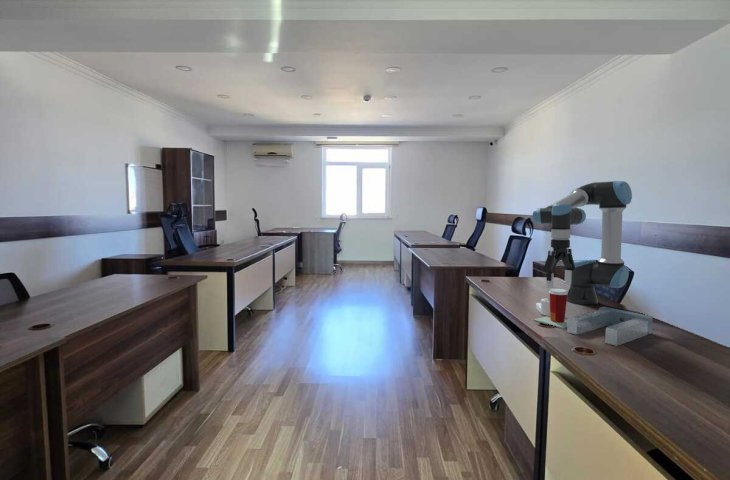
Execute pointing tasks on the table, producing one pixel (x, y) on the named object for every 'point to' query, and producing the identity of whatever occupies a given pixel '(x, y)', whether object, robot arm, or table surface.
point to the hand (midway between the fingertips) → (558, 286)
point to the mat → (547, 321)
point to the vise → (612, 324)
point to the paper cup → (558, 305)
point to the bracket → (544, 307)
